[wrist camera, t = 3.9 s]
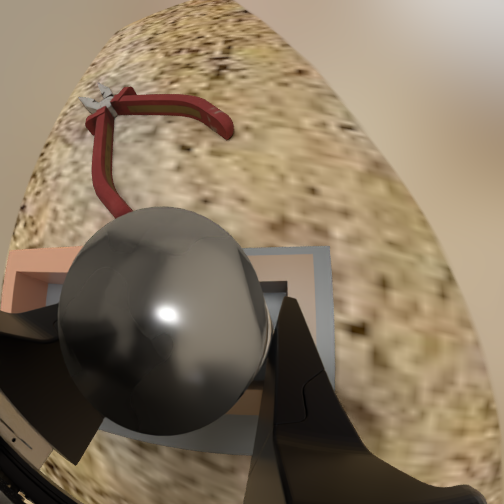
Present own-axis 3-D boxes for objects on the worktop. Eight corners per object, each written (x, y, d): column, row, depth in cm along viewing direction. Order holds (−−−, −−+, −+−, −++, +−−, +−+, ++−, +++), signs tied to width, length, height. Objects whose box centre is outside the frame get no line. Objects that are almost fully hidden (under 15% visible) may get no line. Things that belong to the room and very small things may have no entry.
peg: (275, 369, 14) (265, 447, 3) (208, 368, 14) (57, 407, 3) (274, 303, 15) (265, 200, 4) (209, 303, 15) (73, 215, 5)
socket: (115, 395, 14) (81, 402, 11) (31, 370, 15) (-1, 368, 12) (121, 263, 17) (90, 245, 13) (39, 264, 17) (9, 250, 14)
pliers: (130, 68, 26) (122, 53, 24) (243, 135, 21) (238, 112, 18) (57, 129, 25) (45, 116, 22) (130, 235, 19) (112, 221, 17)
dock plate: (328, 446, 13) (342, 474, 9) (35, 400, 15) (1, 402, 11) (326, 251, 17) (339, 225, 13) (43, 258, 19) (11, 242, 15)
